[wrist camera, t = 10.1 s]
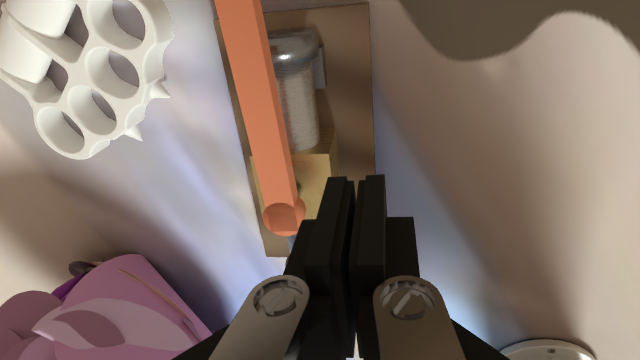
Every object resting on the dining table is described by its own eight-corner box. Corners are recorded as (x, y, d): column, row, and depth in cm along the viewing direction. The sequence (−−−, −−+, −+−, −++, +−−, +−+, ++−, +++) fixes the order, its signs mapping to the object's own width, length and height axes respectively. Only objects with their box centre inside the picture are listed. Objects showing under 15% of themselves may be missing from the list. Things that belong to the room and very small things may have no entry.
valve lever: (265, -13, 20) (257, -12, 19) (309, 223, 27) (305, 235, 26) (216, -6, 20) (205, -4, 19) (272, 224, 28) (267, 236, 27)
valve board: (377, 248, 40) (377, 258, 39) (269, 247, 42) (266, 256, 41) (368, 2, 29) (368, 4, 27) (220, 17, 31) (213, 19, 29)
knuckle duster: (58, -94, 29) (214, 42, 32) (-3, 78, 37) (126, 172, 40) (22, -101, 26) (198, 49, 29) (-36, 88, 34) (107, 188, 37)
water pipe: (348, 250, 39) (340, 314, 32) (291, 249, 40) (272, 312, 33) (328, 23, 28) (311, 43, 21) (252, 30, 29) (211, 51, 22)
